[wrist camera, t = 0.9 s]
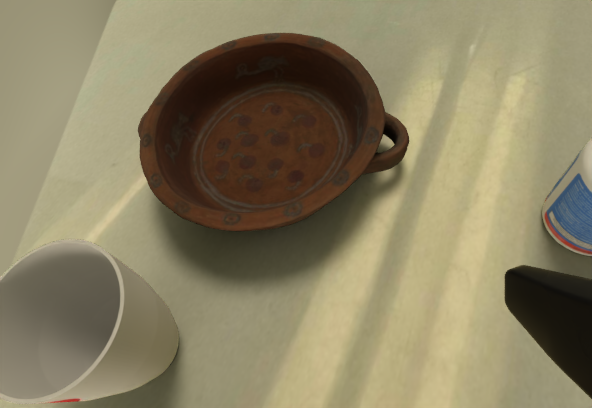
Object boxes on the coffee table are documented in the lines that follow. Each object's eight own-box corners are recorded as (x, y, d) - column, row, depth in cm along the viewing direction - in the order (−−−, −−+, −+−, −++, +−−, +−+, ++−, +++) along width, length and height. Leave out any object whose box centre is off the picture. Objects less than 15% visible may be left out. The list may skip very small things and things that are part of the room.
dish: (398, 271, 29) (402, 246, 25) (117, 239, 34) (78, 214, 30) (413, 73, 36) (418, 26, 32) (178, 72, 41) (154, 31, 37)
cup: (70, 355, 31) (-55, 332, 22) (148, 266, 33) (62, 212, 24) (142, 435, 27) (28, 445, 19) (223, 330, 30) (156, 295, 21)
